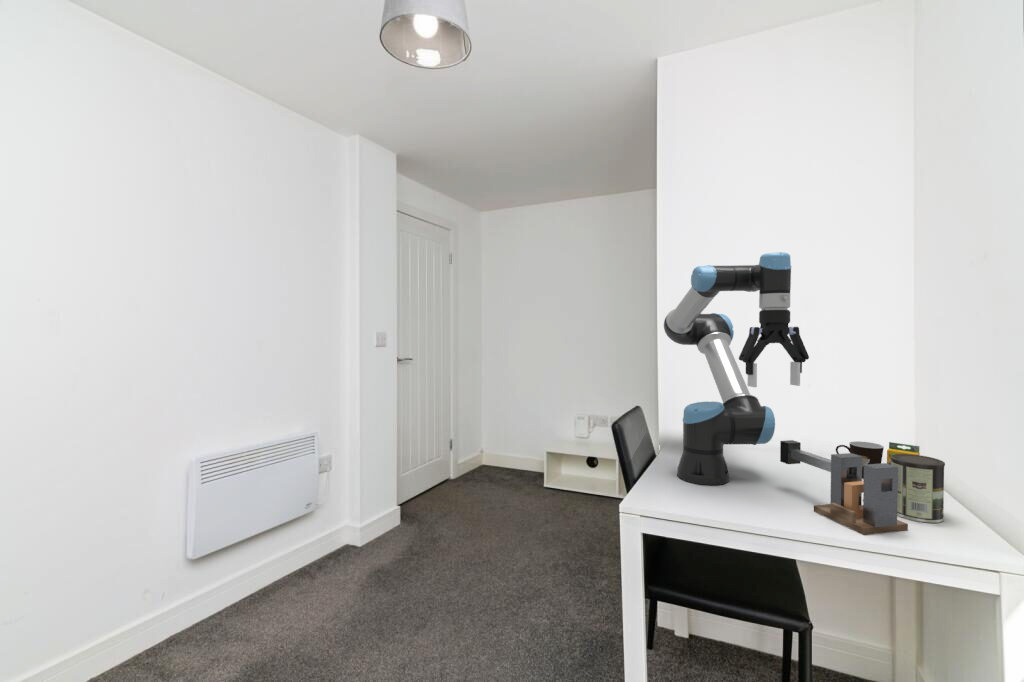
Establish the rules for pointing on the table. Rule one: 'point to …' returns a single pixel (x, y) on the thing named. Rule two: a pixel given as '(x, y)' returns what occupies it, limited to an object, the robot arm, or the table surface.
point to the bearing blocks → (867, 487)
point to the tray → (855, 520)
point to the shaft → (802, 456)
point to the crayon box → (901, 450)
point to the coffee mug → (865, 452)
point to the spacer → (853, 497)
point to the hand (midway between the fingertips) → (773, 386)
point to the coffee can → (920, 487)
